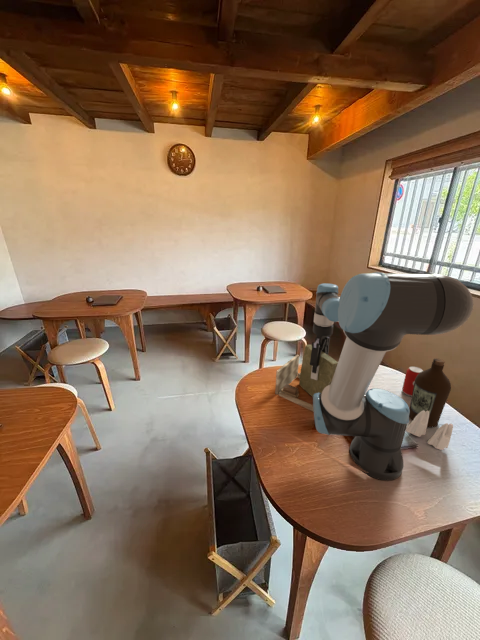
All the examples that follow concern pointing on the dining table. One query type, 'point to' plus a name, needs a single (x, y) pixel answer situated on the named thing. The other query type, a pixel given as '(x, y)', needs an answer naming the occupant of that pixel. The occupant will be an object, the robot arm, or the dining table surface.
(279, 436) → the dining table surface
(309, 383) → the decorative tile
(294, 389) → the offcut stack
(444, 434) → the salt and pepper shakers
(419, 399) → the olive oil
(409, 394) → the beverage can
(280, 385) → the rack
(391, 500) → the dining table surface
